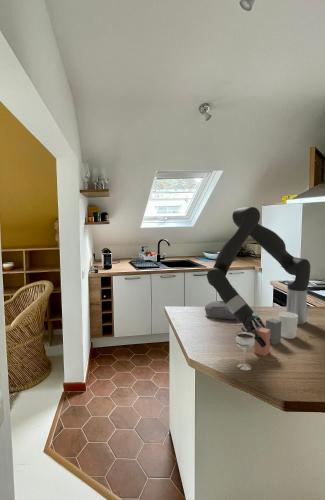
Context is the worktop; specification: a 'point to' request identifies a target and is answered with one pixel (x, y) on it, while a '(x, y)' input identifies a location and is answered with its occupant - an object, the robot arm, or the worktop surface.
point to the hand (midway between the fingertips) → (266, 343)
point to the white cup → (288, 324)
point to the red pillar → (265, 336)
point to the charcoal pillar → (274, 330)
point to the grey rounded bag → (218, 310)
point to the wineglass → (245, 345)
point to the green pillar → (255, 315)
